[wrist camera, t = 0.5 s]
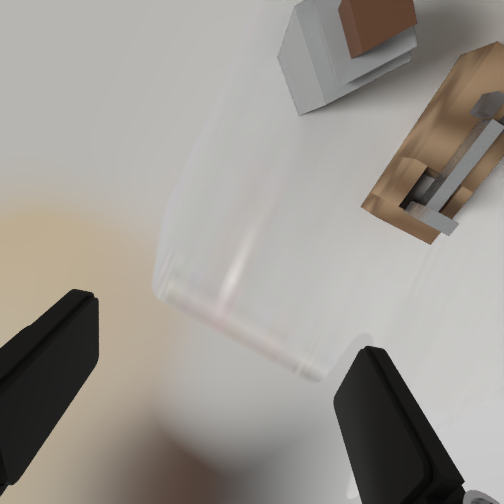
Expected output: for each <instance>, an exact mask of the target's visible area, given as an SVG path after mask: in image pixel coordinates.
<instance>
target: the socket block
mask: <svg viewBox="0 0 504 504" xmlns="http://www.w3.org/2000/svg"><path fill="white" fill-rule="evenodd" d="M482 119H494V120H495V121H497V122H498V123H500V124H501V125H503V126H504V46H503V45H502V44H501V43H499V42H498V41H497V42H495V43H492V44H489V45H487V46H484V47H482V48H479V49H476V50H474V51H471V52H468V53H466V54H463V55H461V56H460V58H459V59H458V61H457V62H456V64H455V65H454V67H453V68H452V70H451V71H450V73H449V74H448V76H447V77H446V79H445V80H444V82H443V83H442V85H441V86H440V88H439V89H438V91H437V92H436V94H435V95H434V97H433V98H432V100H431V101H430V103H429V104H428V106H427V107H426V109H425V110H424V112H423V114H422V115H421V117H420V118H419V120H418V121H417V123H416V124H415V126H414V127H413V129H412V130H411V132H410V133H409V135H408V136H407V138H406V139H405V141H404V142H403V144H402V145H401V147H400V148H399V150H398V151H397V153H396V154H395V156H394V157H393V159H392V160H391V162H390V163H389V165H388V166H387V168H386V169H385V171H384V172H383V174H382V175H381V177H380V178H379V180H378V181H377V183H376V184H375V186H374V187H373V189H372V190H371V192H370V193H369V195H368V196H367V198H366V199H365V201H364V202H363V204H362V205H361V207H362V208H363V209H365V210H366V211H368V212H369V213H371V214H373V215H374V216H376V217H377V218H379V219H381V220H383V221H385V222H387V223H389V224H391V225H393V226H395V227H397V228H399V229H401V230H403V231H405V232H407V233H409V234H410V235H412V236H414V237H416V238H418V239H420V240H422V241H424V242H426V243H428V244H430V245H431V244H432V242H433V241H434V240H435V239H436V238H437V236H438V235H439V234H440V233H441V232H440V231H438V230H436V229H434V228H433V227H431V226H429V225H427V224H425V223H423V222H421V221H419V220H417V219H415V218H413V217H412V216H410V215H408V214H406V213H404V209H402V208H400V207H398V206H399V205H400V204H401V202H402V201H403V199H404V198H405V197H406V195H407V194H408V193H409V191H410V190H411V188H412V187H413V186H414V184H415V183H416V181H417V180H418V179H419V177H420V176H421V175H422V173H425V174H427V175H429V176H430V177H432V178H434V179H436V178H437V177H438V175H439V174H440V173H441V171H442V170H443V169H444V167H445V166H446V165H447V163H448V162H449V161H450V159H451V158H452V157H453V155H454V154H455V153H456V151H457V150H458V149H459V147H460V146H461V145H462V143H463V142H464V141H465V139H466V138H467V137H468V135H469V134H470V133H471V131H472V130H473V129H474V127H475V126H476V125H477V123H478V122H479V121H480V120H482ZM503 156H504V129H503V130H502V132H501V133H500V134H499V135H498V137H497V138H496V139H495V141H494V142H493V143H492V144H491V146H490V147H489V148H488V149H487V151H486V152H485V153H484V154H483V156H482V157H481V158H480V159H479V161H478V162H477V163H476V165H475V166H474V167H473V168H472V170H471V171H470V172H469V173H468V175H467V176H466V177H465V178H464V180H463V181H462V182H461V183H460V185H459V186H458V187H457V189H456V190H455V191H454V192H453V194H452V195H451V196H450V197H449V199H448V200H447V201H446V202H445V204H444V205H443V206H442V207H441V209H440V210H439V211H438V212H439V213H441V214H442V215H444V216H446V217H448V218H450V219H452V218H453V217H454V216H455V215H456V213H457V212H458V211H459V210H460V208H461V207H462V206H463V205H464V204H465V202H466V201H467V200H468V199H469V198H470V196H471V195H472V194H473V193H474V191H475V190H476V189H477V188H478V187H479V185H480V184H481V183H482V182H483V181H484V179H485V178H486V177H487V176H488V174H489V173H490V172H491V171H492V170H493V168H494V167H495V166H496V165H497V164H498V162H499V161H500V160H501V159H502V157H503Z"/></svg>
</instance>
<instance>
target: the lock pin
mask: <svg viewBox="0 0 504 504" xmlns="http://www.w3.org/2000/svg"><path fill="white" fill-rule="evenodd" d="M503 129H504V126H503V125H501V124H500V123H498V122H497V121H495V120H494V119H482V120H480V121H479V122H478V123H477V125H476V126H475V127H474V129H473V130H472V131H471V133H470V134H469V135H468V137H467V138H466V139H465V141H464V142H463V143H462V145H461V146H460V147H459V149H458V150H457V151H456V153H455V154H454V155H453V157H452V158H451V159H450V161H449V162H448V163H447V165H446V166H445V167H444V169H443V170H442V171H441V173H440V174H439V175H438V177H437V178H436V179H435V181H434V182H433V183H432V185H431V186H430V187H429V189H428V190H427V191H426V193H425V194H424V195H423V197H422V198H421V199H420V201H419V202H418V203H416V202H414V201H411V202H410V203H409V205H408V206H407V208H406V209H405V210H404V213H406V214H408V215H410V216H412V217H413V218H415V219H417V220H419V221H421V222H423V223H425V224H427V225H429V226H431V227H433V228H434V229H436V230H438V231H440V232H442V233H444V234H446V235H448V236H449V235H450V234H451V233H452V232H453V231H454V229H455V228H456V227H457V226H458V225H459V223H457V222H455V221H453V220H451V219H450V218H448V217H446V216H444V215H442V214H441V213H439V212H438V211H439V210H440V209H441V207H442V206H443V205H444V204H445V202H446V201H447V200H448V199H449V197H450V196H451V195H452V194H453V192H454V191H455V190H456V189H457V187H458V186H459V185H460V183H461V182H462V181H463V180H464V178H465V177H466V176H467V175H468V173H469V172H470V171H471V170H472V168H473V167H474V166H475V165H476V163H477V162H478V161H479V159H480V158H481V157H482V156H483V154H484V153H485V152H486V151H487V149H488V148H489V147H490V146H491V144H492V143H493V142H494V141H495V139H496V138H497V137H498V135H499V134H500V133H501V132H502V130H503Z"/></svg>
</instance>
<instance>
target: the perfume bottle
mask: <svg viewBox="0 0 504 504" xmlns="http://www.w3.org/2000/svg"><path fill="white" fill-rule="evenodd" d="M415 24H417V21H416V15H415V9H414V4H413V0H304V1H302V2H300V3H299V4H297V5H295V6H294V8H293V11H292V14H291V18H290V21H289V24H288V27H287V30H286V33H285V36H284V39H283V42H282V45H281V48H280V51H279V54H278V57H277V58H278V61H279V63H280V66H281V69H282V72H283V74H284V77H285V80H286V83H287V85H288V88H289V91H290V94H291V96H292V99H293V102H294V105H295V107H296V110H297V113H298V116H300V115H302V114H305V113H307V112H309V111H312V110H314V109H317V108H319V107H322V106H324V105H326V104H328V103H330V102H332V101H334V100H336V99H338V98H340V97H342V96H344V95H346V94H348V93H350V92H351V91H353V90H355V89H357V88H359V87H361V86H363V85H365V84H367V83H369V82H371V81H373V80H374V79H376V78H378V77H380V76H382V75H384V74H386V73H388V72H390V71H392V70H394V69H396V68H397V67H399V66H401V65H403V64H405V63H407V62H409V61H411V58H410V52H409V50H411V49H413V48H415V47H416V46H417V41H416V36H415V30H414V25H415Z"/></svg>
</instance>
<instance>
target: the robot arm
mask: <svg viewBox="0 0 504 504" xmlns="http://www.w3.org/2000/svg"><path fill="white" fill-rule="evenodd" d="M98 358H99V301H98V299H97V298H95V297H94V294H93V293H92V292H88V291H83V290H77V289H72V290H71V291H69V292H68V293H67V294H66V295H65V296H64V297H62V298H61V299H60V300H59V301H58V302H57V303H56V304H54V305H53V306H52V307H51V308H50V309H49V310H48V311H46V312H45V313H44V314H43V315H42V316H40V317H39V318H38V319H37V320H36V321H35V322H34V323H32V324H31V325H29V326H27V327H25V328H24V329H22V330H21V331H20V332H19V333H18V334H16V335H15V336H14V337H13V338H12V339H11V340H9V341H8V342H7V343H6V344H5V345H4V346H2V347H1V348H0V496H1V495H2V494H3V492H4V491H5V489H6V488H7V486H8V485H14V484H15V483H16V482H17V481H18V480H19V479H20V477H21V476H22V475H23V473H24V472H25V470H26V469H27V467H28V466H29V464H30V463H31V461H32V460H33V458H34V457H35V455H36V454H37V452H38V451H39V449H40V448H41V446H42V445H43V443H44V442H45V440H46V439H47V438H48V436H49V435H50V433H51V432H52V430H53V429H54V427H55V426H56V424H57V422H58V421H59V420H60V418H61V417H62V415H63V414H64V412H65V411H66V409H67V408H68V406H69V405H70V403H71V402H72V400H73V399H74V397H75V396H76V394H77V393H78V391H79V390H80V388H81V387H82V385H83V384H84V383H85V381H86V380H87V378H88V376H89V375H90V374H91V372H92V371H93V369H94V368H95V366H96V364H97V361H98ZM334 409H335V412H336V416H337V419H338V423H339V425H340V429H341V433H342V436H343V440H344V443H345V446H346V450H347V453H348V457H349V460H350V463H351V467H352V470H353V474H354V477H355V480H356V484H357V487H358V491H359V494H360V497H361V501H362V504H499V503H498V502H497V501H496V500H494V499H493V498H491V497H490V496H488V495H486V494H484V493H482V492H479V491H476V490H470V491H468V492H465V490H464V489H463V487H462V484H463V483H464V482H465V481H464V479H463V478H462V476H461V475H460V473H459V471H458V469H457V468H456V466H455V464H454V463H453V461H452V460H451V458H450V456H449V455H448V453H447V451H446V449H445V448H444V446H443V445H442V443H441V441H440V440H439V438H438V436H437V435H436V433H435V431H434V430H433V428H432V426H431V425H430V423H429V421H428V420H427V418H426V416H425V415H424V413H423V411H422V410H421V408H420V407H419V405H418V403H417V402H416V400H415V398H414V397H413V395H412V393H411V392H410V390H409V388H408V387H407V385H406V383H405V382H404V380H403V378H402V377H401V375H400V374H399V372H398V370H397V369H396V367H395V365H394V364H393V362H392V360H391V359H390V357H389V355H388V354H387V352H386V351H385V350H384V349H382V348H377V347H372V346H366V347H365V348H364V349H361V350H360V351H359V352H358V354H357V356H356V358H355V360H354V362H353V363H352V365H351V367H350V369H349V371H348V373H347V374H346V376H345V378H344V380H343V382H342V384H341V386H340V387H339V389H338V391H337V393H336V395H335V397H334Z"/></svg>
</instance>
